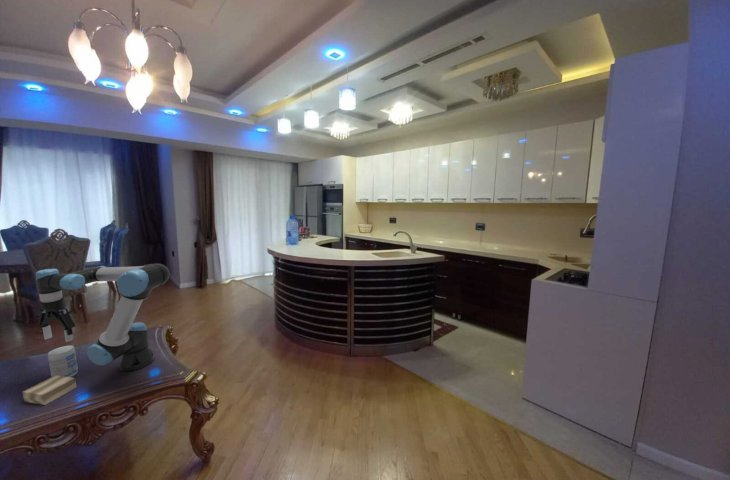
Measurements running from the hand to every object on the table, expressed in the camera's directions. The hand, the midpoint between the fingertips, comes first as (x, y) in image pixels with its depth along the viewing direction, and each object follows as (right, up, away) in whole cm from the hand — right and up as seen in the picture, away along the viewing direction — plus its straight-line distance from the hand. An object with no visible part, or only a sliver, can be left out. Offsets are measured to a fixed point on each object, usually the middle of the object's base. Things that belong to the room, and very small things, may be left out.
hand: (59, 339), depth 141 cm
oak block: (+8, -22, -10) cm, 26 cm away
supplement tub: (0, -20, +3) cm, 21 cm away
